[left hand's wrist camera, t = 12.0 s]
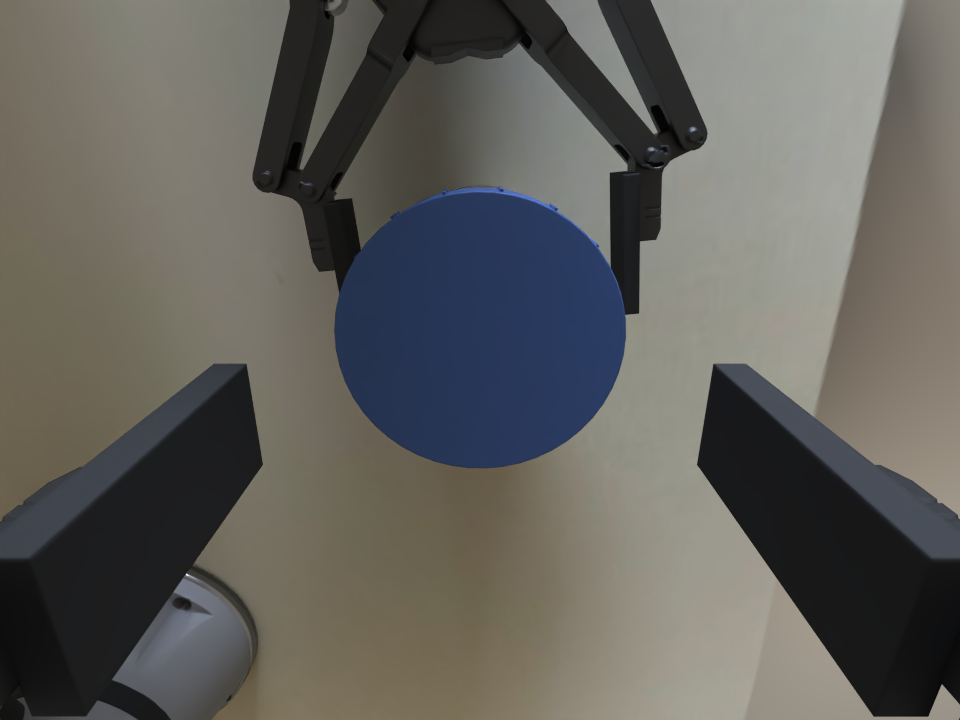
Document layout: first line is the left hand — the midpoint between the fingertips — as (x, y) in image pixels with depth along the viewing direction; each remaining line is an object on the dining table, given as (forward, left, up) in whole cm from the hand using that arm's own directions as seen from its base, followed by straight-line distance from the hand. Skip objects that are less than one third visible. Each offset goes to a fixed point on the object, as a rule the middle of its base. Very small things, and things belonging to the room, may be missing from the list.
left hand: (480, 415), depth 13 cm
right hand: (-2, 0, -15) cm, 15 cm away
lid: (0, 0, -6) cm, 6 cm away
